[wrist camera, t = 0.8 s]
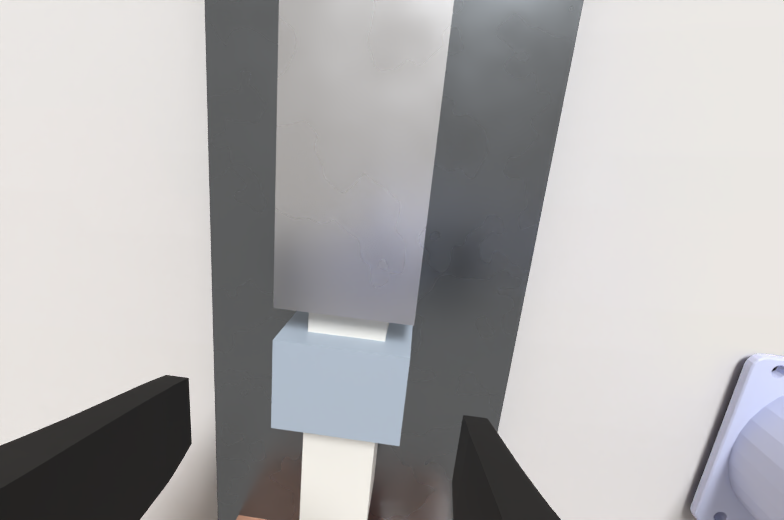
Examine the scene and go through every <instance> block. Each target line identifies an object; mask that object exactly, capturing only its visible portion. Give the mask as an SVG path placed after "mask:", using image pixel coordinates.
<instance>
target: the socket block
mask: <svg viewBox="0 0 784 520" xmlns="http://www.w3.org/2000/svg"><path fill="white" fill-rule="evenodd" d="M236 520H267V519H261V518H254V517H248V516H242V515H238V517H237V519H236Z"/></svg>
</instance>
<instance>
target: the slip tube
mask: <svg viewBox="0 0 784 520" xmlns="http://www.w3.org/2000/svg"><path fill="white" fill-rule="evenodd" d="M412 328H413V326H412V325H404V324H396V323H388V322H380V321H372V320H365V319H357V318H349V317H341V316H333V315H325V314H317V313H309V312H301V311H296V313H295V314H294V315H293V316H292V317H291V319H290V320H289V321H288V322H287V323H286V325H285V326H284V327H283V328H282V329H281V331H280V332H279V333H278V334H277V335H276V337H275V338H274V339H273V349H272V403H271V428H276V429H283V430H290V431H297V432H303V451H302V474H301V496H300V519H299V520H368V514H369V508H370V501H371V495H372V489H373V483H374V475H375V466H376V456H377V447H378V443H380V444H387V445H394V446H399V445H400V437H401V429H402V421H403V412H404V404H405V396H406V388H407V380H408V372H409V364H410V354H411V341H412Z"/></svg>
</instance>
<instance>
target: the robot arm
mask: <svg viewBox="0 0 784 520" xmlns="http://www.w3.org/2000/svg"><path fill="white" fill-rule="evenodd" d="M776 366H778V367H777V368H776V370H774V371H773V372H772V370H773V368H774V367H776ZM191 444H192V443H191V421H190V400H189V378H184V377H176V376H169V375H165V376H163V377H160V378H157V379H155V380H152V381H150V382H147V383H145V384H143V385H140V386H138V387H136V388H134V389H131V390H129V391H127V392H125V393H122V394H120V395H118V396H116V397H114V398H111V399H109V400H107V401H105V402H102V403H100V404H98V405H96V406H93V407H91V408H89V409H87V410H85V411H82V412H80V413H78V414H76V415H73V416H71V417H69V418H66V419H64V420H62V421H59V422H57V423H54V424H52V425H50V426H47V427H45V428H42V429H40V430H38V431H35V432H33V433H30V434H28V435H26V436H23V437H21V438H18V439H16V440H14V441H11V442H8V443H6V444H3V445H1V446H0V520H140V519H141V517H142V516H143V515H144V513H145V512H146V511H147V510H148V508H149V507H150V506H151V504H152V503H153V502H154V500H155V499H156V498H157V497H158V495H159V494H160V493H161V491H162V490H163V489H164V487H165V486H166V485H167V483H168V482H169V480H170V479H171V477H172V476H173V474H174V472H175V471H176V469H177V467H178V466H179V464H180V463H181V461H182V459H183V457H184V456H185V454H186V452H187V450H188V449H189V447H190V445H191ZM452 502H453V520H561V519H560V518H559V517H558V516H557V514H556V513H555V512H554V511H553V510H552V508H551V507H550V506H549V505H548V503H547V502H546V501H545V499H544V498H543V497H542V495H541V494H540V493H539V492H538V490H537V489H536V487H535V486H534V485H533V483H532V482H531V481H530V479H529V478H528V477H527V475H526V474H525V472H524V471H523V470H522V468H521V467H520V466H519V464H518V463H517V461H516V460H515V458H514V457H513V455H512V454H511V452H510V451H509V450H508V448H507V447H506V445H505V444H504V442H503V441H502V439H501V438H500V436H499V434H498V433H497V431H496V430H495V428H494V427H493V425H492V424H491V422H490V421H489V420H488V418H482V417H474V416H467V415H463V419H462V425H461V431H460V437H459V442H458V448H457V454H456V460H455V466H454V472H453V478H452ZM690 511H691V513H692V514H693V516H694V517H695V518H696V520H784V356H777V355H769V354H755V355H752V356H751V357H749V358H748V359H747V360H746V362H745V363H744V366H743V369H742V371H741V374H740V377H739V379H738V382H737V385H736V387H735V390H734V392H733V395H732V398H731V400H730V403H729V406H728V408H727V411H726V414H725V416H724V419H723V422H722V424H721V427H720V430H719V432H718V435H717V438H716V440H715V443H714V445H713V448H712V451H711V453H710V456H709V459H708V461H707V464H706V467H705V469H704V472H703V475H702V477H701V480H700V483H699V485H698V488H697V491H696V493H695V496H694V499H693V501H692V504H691V507H690Z"/></svg>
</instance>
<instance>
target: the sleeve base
mask: <svg viewBox="0 0 784 520" xmlns="http://www.w3.org/2000/svg"><path fill="white" fill-rule="evenodd" d="M583 1H584V0H205V31H206V70H207V109H208V148H209V187H210V225H211V264H212V303H213V342H214V381H215V420H216V459H217V497H218V520H236V519H237V517H238V515H242V516H248V517H254V518H261V519H267V520H299V519H300V496H301V474H302V451H303V432H297V431H290V430H283V429H276V428H271V403H272V349H273V339H274V338H275V337H276V335H277V334H278V333H279V332H280V331H281V329H282V328H283V327H284V326H285V325H286V323H287V322H288V321H289V320H290V319H291V317H292V316H293V315H294V314H295V313H296V311H301V312H309V313H317V314H325V315H333V316H341V317H349V318H357V319H365V320H372V321H380V322H388V323H396V324H404V325H412V326H413V328H412V341H411V354H410V364H409V372H408V380H407V388H406V396H405V404H404V412H403V421H402V429H401V437H400V445H399V446H394V445H387V444H380V443H378V447H377V456H376V466H375V475H374V483H373V489H372V495H371V501H370V508H369V514H368V520H453V502H452V478H453V472H454V466H455V460H456V454H457V448H458V442H459V437H460V431H461V425H462V419H463V415H467V416H474V417H482V418H488V420H489V421H490V422H491V424H492V425H493V427H494V428H495V430H496V431H498V426H499V421H500V416H501V411H502V406H503V401H504V396H505V391H506V386H507V381H508V376H509V371H510V366H511V361H512V356H513V351H514V346H515V341H516V336H517V331H518V326H519V321H520V316H521V311H522V306H523V301H524V296H525V291H526V286H527V281H528V276H529V271H530V266H531V261H532V256H533V251H534V246H535V241H536V236H537V231H538V226H539V221H540V216H541V211H542V206H543V201H544V196H545V191H546V186H547V181H548V176H549V171H550V166H551V161H552V156H553V151H554V146H555V141H556V136H557V131H558V126H559V121H560V116H561V111H562V106H563V101H564V96H565V91H566V86H567V81H568V76H569V71H570V66H571V61H572V56H573V51H574V46H575V41H576V36H577V31H578V26H579V21H580V16H581V11H582V6H583Z"/></svg>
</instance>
